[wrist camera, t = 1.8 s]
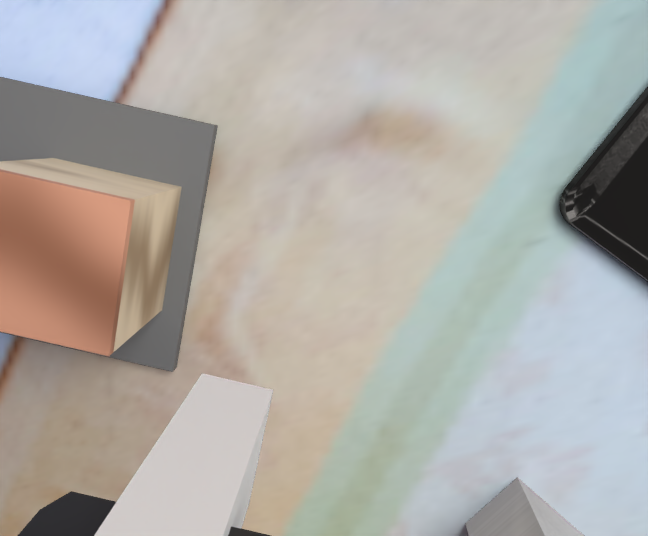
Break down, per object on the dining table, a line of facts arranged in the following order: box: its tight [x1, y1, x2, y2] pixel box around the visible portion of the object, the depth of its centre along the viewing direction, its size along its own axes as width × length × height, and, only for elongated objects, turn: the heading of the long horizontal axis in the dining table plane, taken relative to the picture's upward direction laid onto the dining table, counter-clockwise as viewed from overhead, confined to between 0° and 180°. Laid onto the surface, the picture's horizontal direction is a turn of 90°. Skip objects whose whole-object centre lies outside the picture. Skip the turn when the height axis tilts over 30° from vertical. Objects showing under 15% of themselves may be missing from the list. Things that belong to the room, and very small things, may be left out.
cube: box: [0, 158, 182, 356], centre depth 24 cm, size 6×6×6 cm
